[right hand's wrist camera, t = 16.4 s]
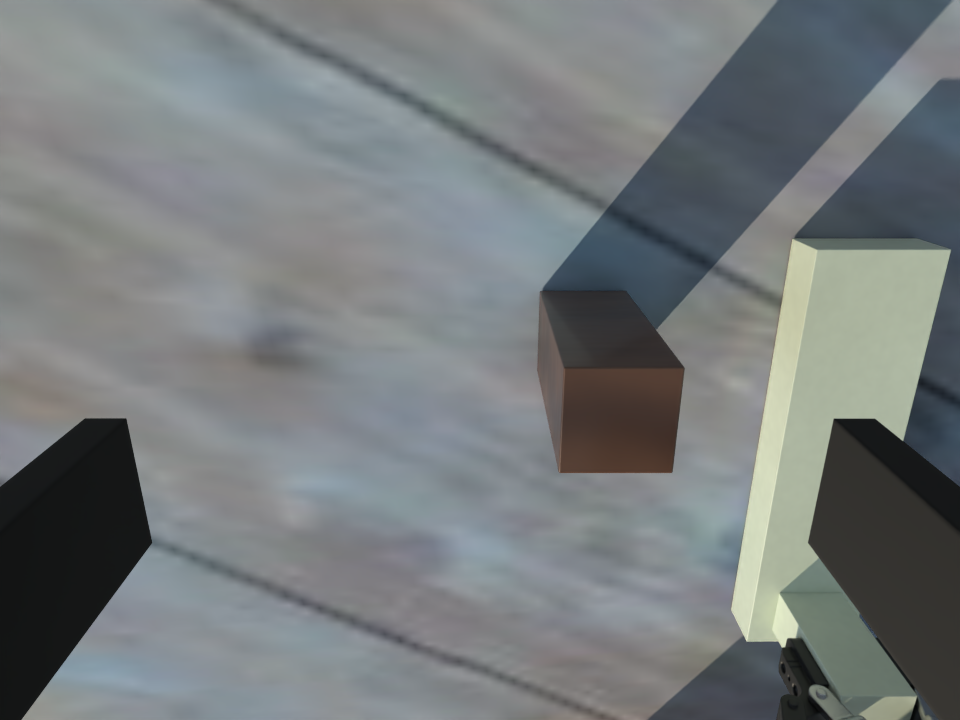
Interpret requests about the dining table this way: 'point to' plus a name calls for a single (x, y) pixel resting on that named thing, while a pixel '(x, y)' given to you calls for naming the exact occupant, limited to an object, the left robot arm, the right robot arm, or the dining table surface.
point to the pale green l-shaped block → (805, 437)
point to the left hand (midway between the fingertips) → (831, 649)
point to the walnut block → (607, 384)
